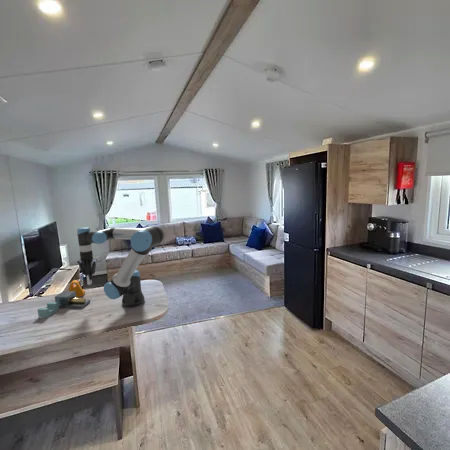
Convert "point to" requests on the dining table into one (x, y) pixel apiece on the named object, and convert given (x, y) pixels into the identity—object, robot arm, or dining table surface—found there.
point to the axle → (77, 300)
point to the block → (68, 300)
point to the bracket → (76, 288)
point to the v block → (48, 310)
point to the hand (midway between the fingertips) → (89, 284)
